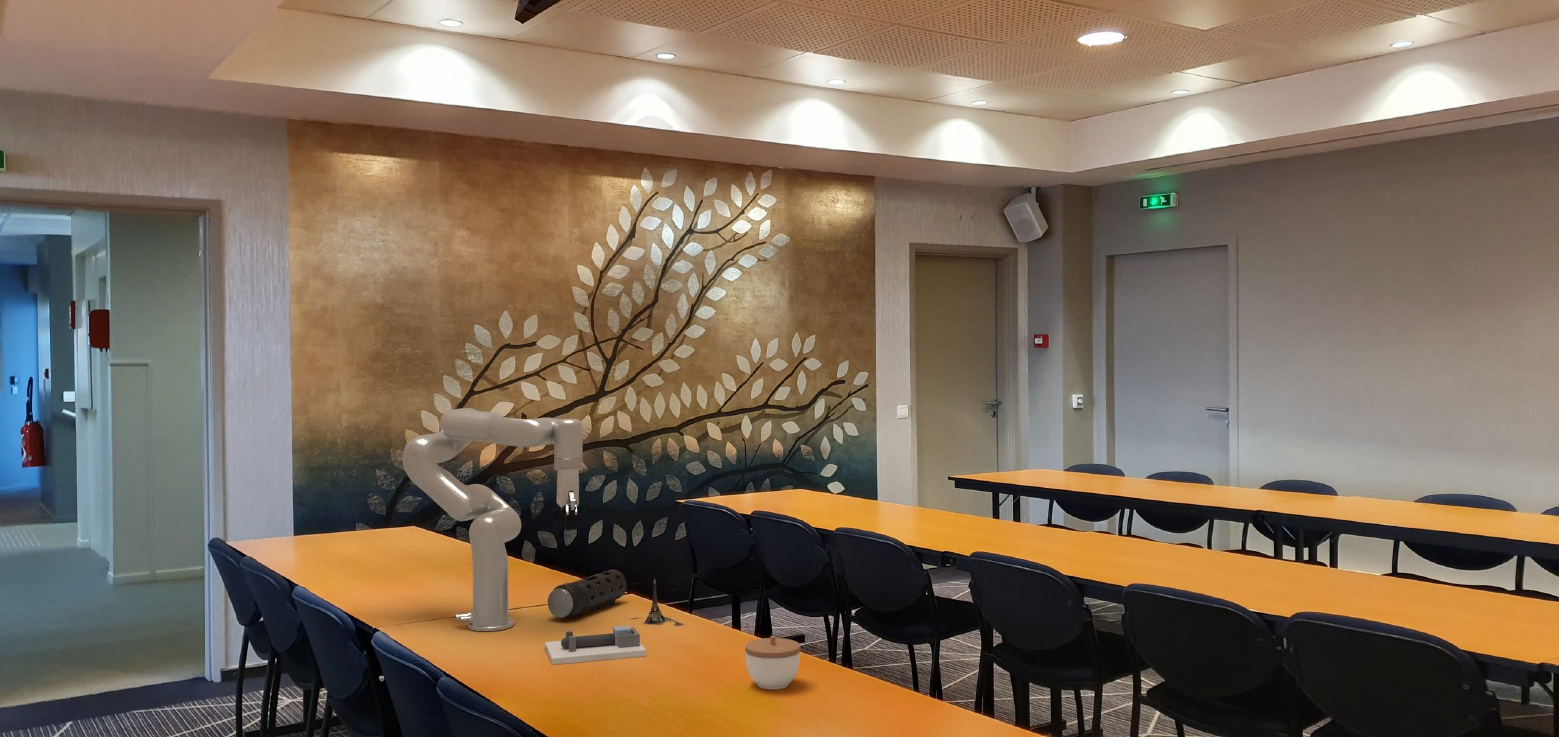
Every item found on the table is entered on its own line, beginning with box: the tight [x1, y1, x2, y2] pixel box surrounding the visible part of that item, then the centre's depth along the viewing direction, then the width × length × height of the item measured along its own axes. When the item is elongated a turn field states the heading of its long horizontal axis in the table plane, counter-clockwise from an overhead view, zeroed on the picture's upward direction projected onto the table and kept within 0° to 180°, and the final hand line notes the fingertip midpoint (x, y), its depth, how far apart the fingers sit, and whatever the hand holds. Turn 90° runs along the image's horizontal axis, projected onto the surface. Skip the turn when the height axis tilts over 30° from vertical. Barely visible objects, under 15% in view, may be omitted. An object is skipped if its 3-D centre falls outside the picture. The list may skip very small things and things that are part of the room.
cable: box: [560, 625, 631, 649], centre depth 279 cm, size 17×4×4 cm, turn 108°
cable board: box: [544, 626, 647, 666], centre depth 278 cm, size 23×16×5 cm
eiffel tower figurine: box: [630, 579, 685, 627], centre depth 309 cm, size 15×10×13 cm
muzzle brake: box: [547, 569, 628, 619], centre depth 322 cm, size 10×28×10 cm, turn 155°
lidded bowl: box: [744, 635, 802, 691], centre depth 250 cm, size 13×13×11 cm
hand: (568, 526), depth 300 cm, fingers open, 9 cm apart
